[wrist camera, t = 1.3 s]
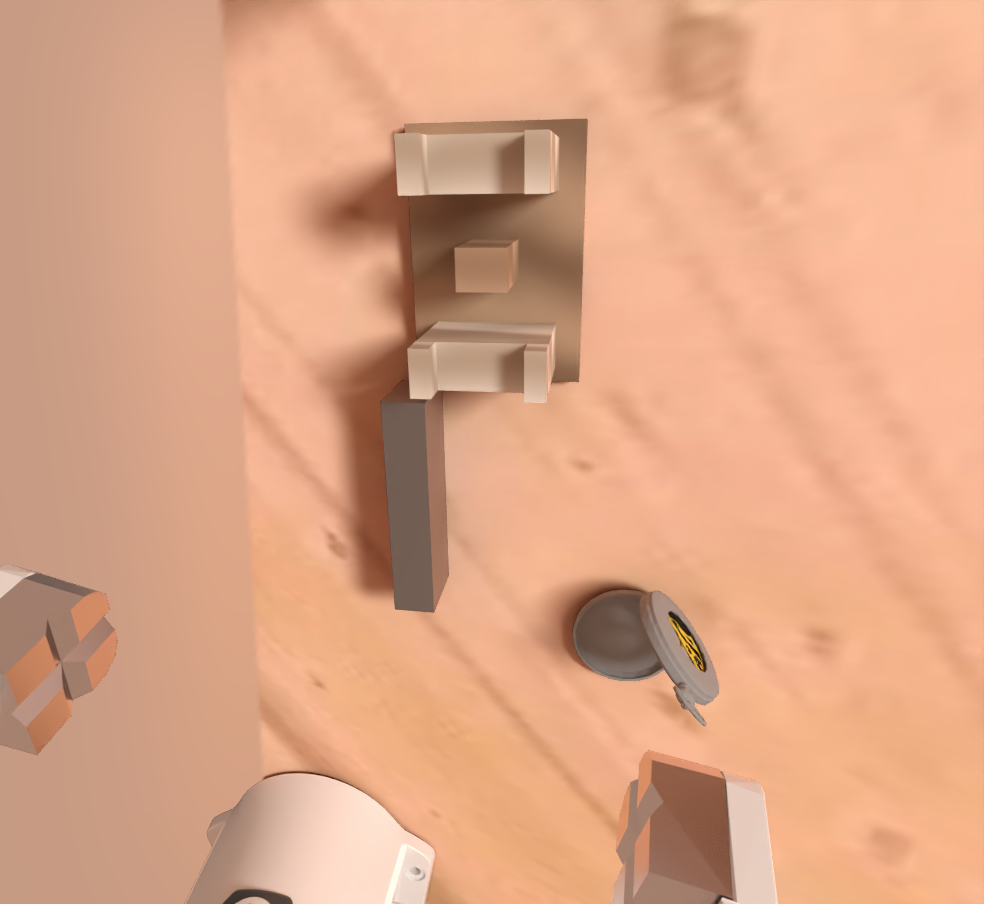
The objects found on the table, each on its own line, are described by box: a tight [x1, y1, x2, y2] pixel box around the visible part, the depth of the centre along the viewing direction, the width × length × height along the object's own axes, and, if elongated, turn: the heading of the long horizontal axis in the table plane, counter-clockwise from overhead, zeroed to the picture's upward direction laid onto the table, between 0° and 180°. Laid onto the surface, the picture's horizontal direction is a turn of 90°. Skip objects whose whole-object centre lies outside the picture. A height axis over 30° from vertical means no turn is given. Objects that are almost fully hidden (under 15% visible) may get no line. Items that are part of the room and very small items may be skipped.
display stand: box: [394, 119, 588, 403], centre depth 34 cm, size 13×9×8 cm
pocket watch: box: [573, 589, 719, 726], centre depth 39 cm, size 8×8×10 cm
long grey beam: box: [380, 380, 449, 613], centre depth 41 cm, size 13×2×4 cm, turn 0°
